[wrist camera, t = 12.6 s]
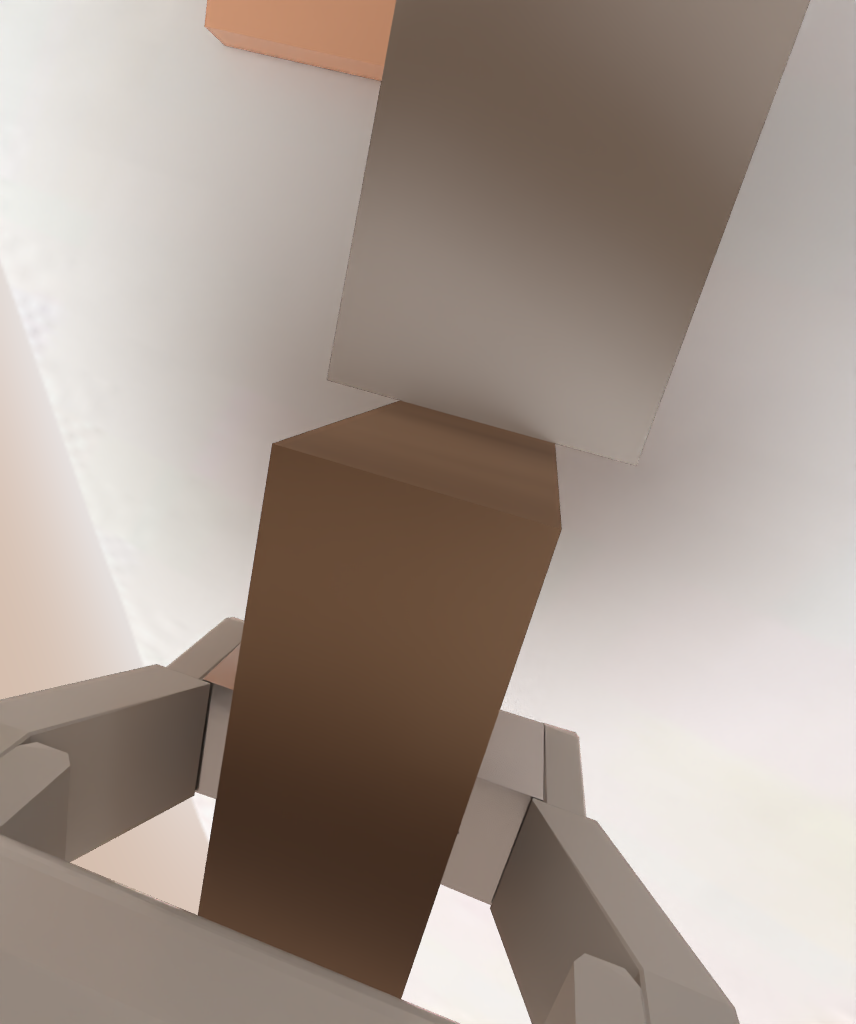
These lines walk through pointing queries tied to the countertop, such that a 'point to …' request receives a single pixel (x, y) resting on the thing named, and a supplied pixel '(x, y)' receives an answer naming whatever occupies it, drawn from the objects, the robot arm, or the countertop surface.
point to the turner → (466, 430)
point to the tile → (308, 31)
